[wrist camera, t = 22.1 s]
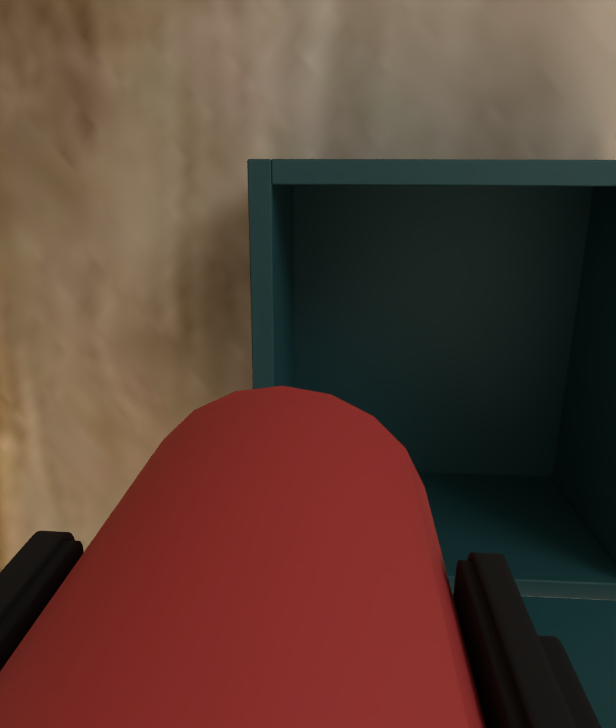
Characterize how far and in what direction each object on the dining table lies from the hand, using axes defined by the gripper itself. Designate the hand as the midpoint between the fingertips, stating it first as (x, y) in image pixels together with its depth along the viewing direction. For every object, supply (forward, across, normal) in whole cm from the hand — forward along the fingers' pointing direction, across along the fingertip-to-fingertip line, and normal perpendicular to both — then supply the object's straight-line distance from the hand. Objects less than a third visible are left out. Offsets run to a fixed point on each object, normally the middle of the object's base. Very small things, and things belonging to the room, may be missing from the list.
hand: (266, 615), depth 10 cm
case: (+21, -6, 0) cm, 22 cm away
